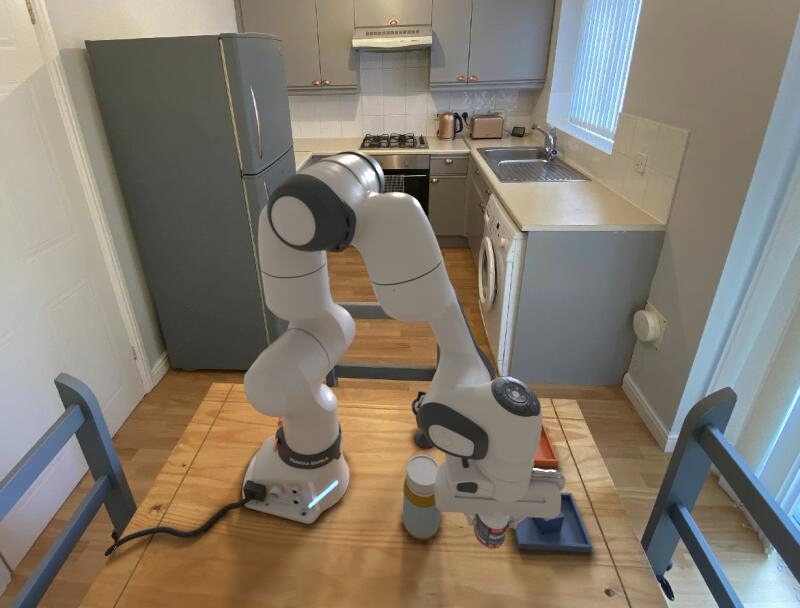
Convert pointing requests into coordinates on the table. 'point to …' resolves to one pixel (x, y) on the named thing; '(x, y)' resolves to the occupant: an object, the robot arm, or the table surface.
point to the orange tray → (545, 451)
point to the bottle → (420, 497)
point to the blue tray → (563, 540)
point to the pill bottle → (491, 530)
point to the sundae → (419, 436)
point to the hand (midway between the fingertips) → (490, 522)
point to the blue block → (549, 524)
